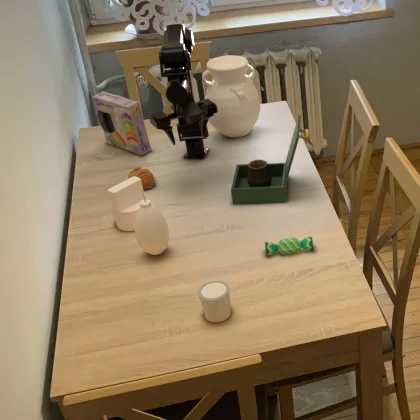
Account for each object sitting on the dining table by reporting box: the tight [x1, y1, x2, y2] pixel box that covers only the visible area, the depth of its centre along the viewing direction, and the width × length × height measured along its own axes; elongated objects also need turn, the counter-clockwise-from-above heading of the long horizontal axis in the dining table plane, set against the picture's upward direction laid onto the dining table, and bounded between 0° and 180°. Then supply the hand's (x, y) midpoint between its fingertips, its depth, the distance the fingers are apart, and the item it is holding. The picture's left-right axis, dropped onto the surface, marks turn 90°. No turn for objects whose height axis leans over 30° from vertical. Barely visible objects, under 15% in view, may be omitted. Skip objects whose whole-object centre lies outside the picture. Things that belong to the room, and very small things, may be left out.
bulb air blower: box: [134, 192, 170, 256], centre depth 163 cm, size 8×8×18 cm
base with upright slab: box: [107, 176, 145, 232], centre depth 177 cm, size 9×9×12 cm
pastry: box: [127, 166, 156, 190], centre depth 197 cm, size 9×7×4 cm
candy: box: [264, 236, 314, 257], centre depth 167 cm, size 12×3×4 cm
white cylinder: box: [197, 280, 232, 323], centre depth 146 cm, size 7×7×7 cm
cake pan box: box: [92, 90, 152, 156], centre depth 214 cm, size 19×5×18 cm, turn 55°
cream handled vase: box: [201, 54, 261, 138], centre depth 221 cm, size 19×18×25 cm
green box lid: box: [283, 114, 311, 186], centre depth 187 cm, size 16×15×4 cm
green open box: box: [230, 162, 289, 205], centre depth 192 cm, size 15×15×5 cm
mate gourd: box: [247, 159, 272, 187], centre depth 190 cm, size 7×8×10 cm
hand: (188, 140), depth 193 cm, fingers open, 9 cm apart
